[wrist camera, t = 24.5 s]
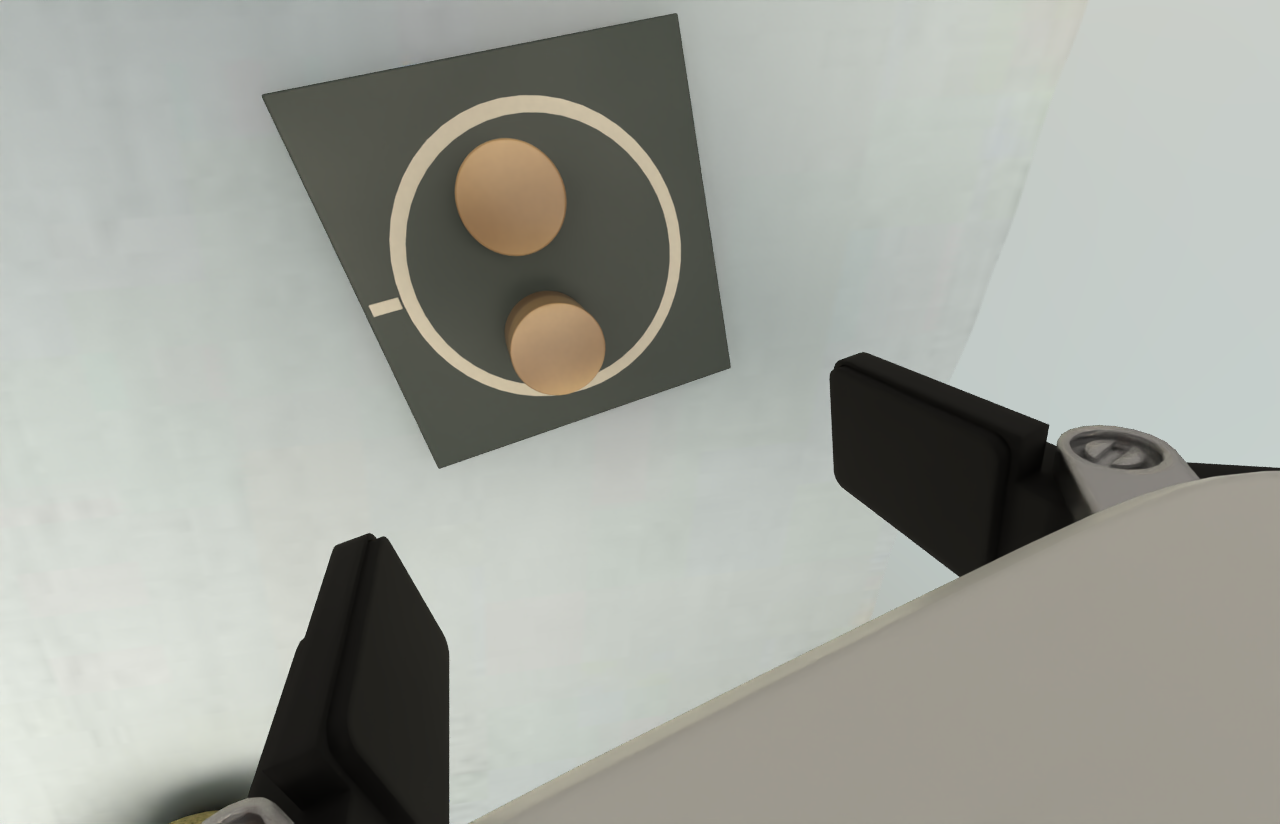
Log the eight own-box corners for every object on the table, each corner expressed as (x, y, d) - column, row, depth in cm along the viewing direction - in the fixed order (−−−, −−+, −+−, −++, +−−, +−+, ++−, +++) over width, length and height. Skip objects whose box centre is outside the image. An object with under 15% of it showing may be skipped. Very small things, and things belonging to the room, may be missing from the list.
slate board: (269, 99, 19) (258, 93, 18) (668, 19, 22) (679, 11, 21) (439, 460, 26) (438, 471, 25) (723, 362, 29) (732, 369, 28)
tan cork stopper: (491, 305, 23) (496, 319, 20) (577, 280, 24) (592, 290, 21) (520, 385, 25) (527, 408, 22) (599, 359, 25) (615, 378, 23)
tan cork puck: (439, 157, 20) (436, 152, 17) (538, 135, 21) (549, 126, 18) (475, 259, 22) (478, 268, 19) (565, 235, 23) (579, 240, 20)
